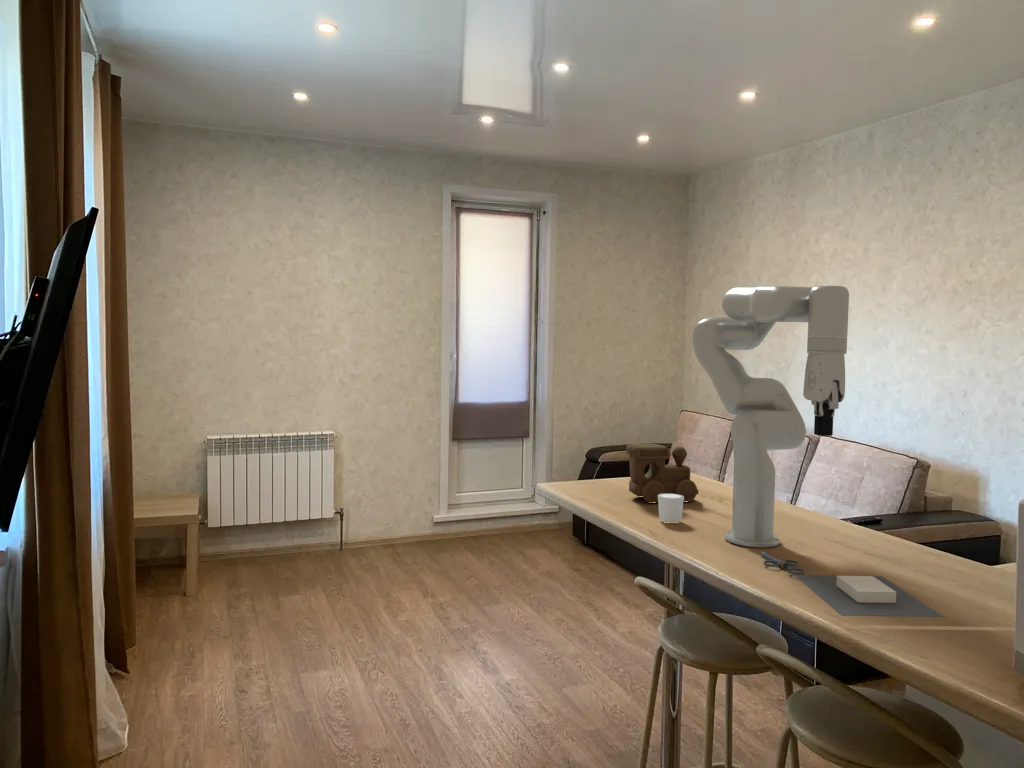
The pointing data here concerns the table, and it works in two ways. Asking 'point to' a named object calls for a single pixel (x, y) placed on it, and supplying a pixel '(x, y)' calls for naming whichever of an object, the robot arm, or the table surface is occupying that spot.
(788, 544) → the table surface
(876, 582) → the tile
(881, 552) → the table surface
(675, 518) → the white short tapered cylinder
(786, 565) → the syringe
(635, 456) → the wooden toy train
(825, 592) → the mat
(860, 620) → the table surface
